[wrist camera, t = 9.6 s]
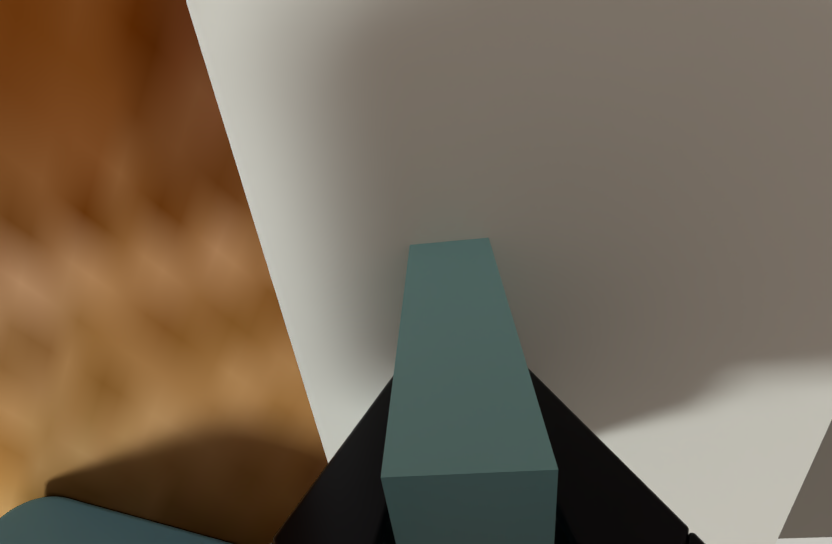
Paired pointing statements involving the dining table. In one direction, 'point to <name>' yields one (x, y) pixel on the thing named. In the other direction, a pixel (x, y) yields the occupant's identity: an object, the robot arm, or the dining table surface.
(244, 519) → the dining table surface
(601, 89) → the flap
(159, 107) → the dining table surface
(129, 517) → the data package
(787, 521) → the carton
